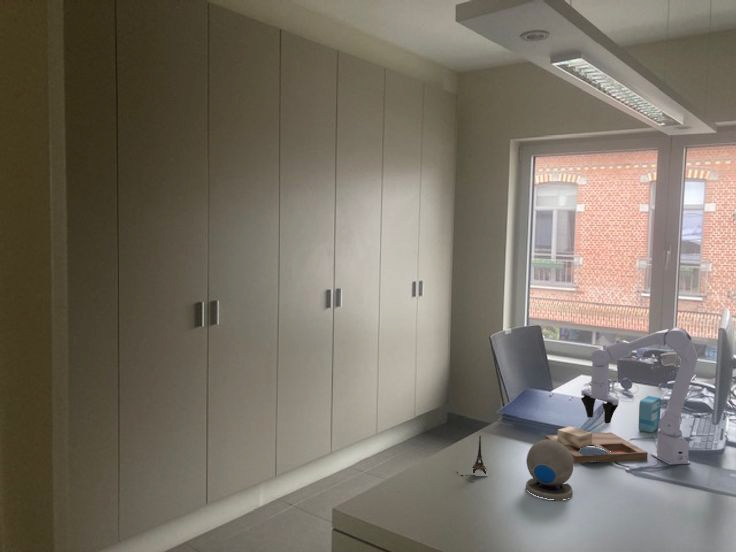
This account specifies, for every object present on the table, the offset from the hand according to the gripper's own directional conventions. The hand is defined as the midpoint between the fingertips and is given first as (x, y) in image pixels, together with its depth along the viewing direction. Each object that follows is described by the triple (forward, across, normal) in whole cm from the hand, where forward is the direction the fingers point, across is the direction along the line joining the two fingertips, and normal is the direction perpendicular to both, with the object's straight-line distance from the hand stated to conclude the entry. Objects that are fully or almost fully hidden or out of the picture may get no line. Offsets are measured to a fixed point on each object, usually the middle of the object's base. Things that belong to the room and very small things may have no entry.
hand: (598, 420), depth 210 cm
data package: (+10, +4, -34) cm, 36 cm away
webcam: (+10, -21, +45) cm, 50 cm away
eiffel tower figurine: (+10, 0, +54) cm, 55 cm away
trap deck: (+9, -3, +5) cm, 11 cm away
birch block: (+7, +1, +11) cm, 13 cm away
